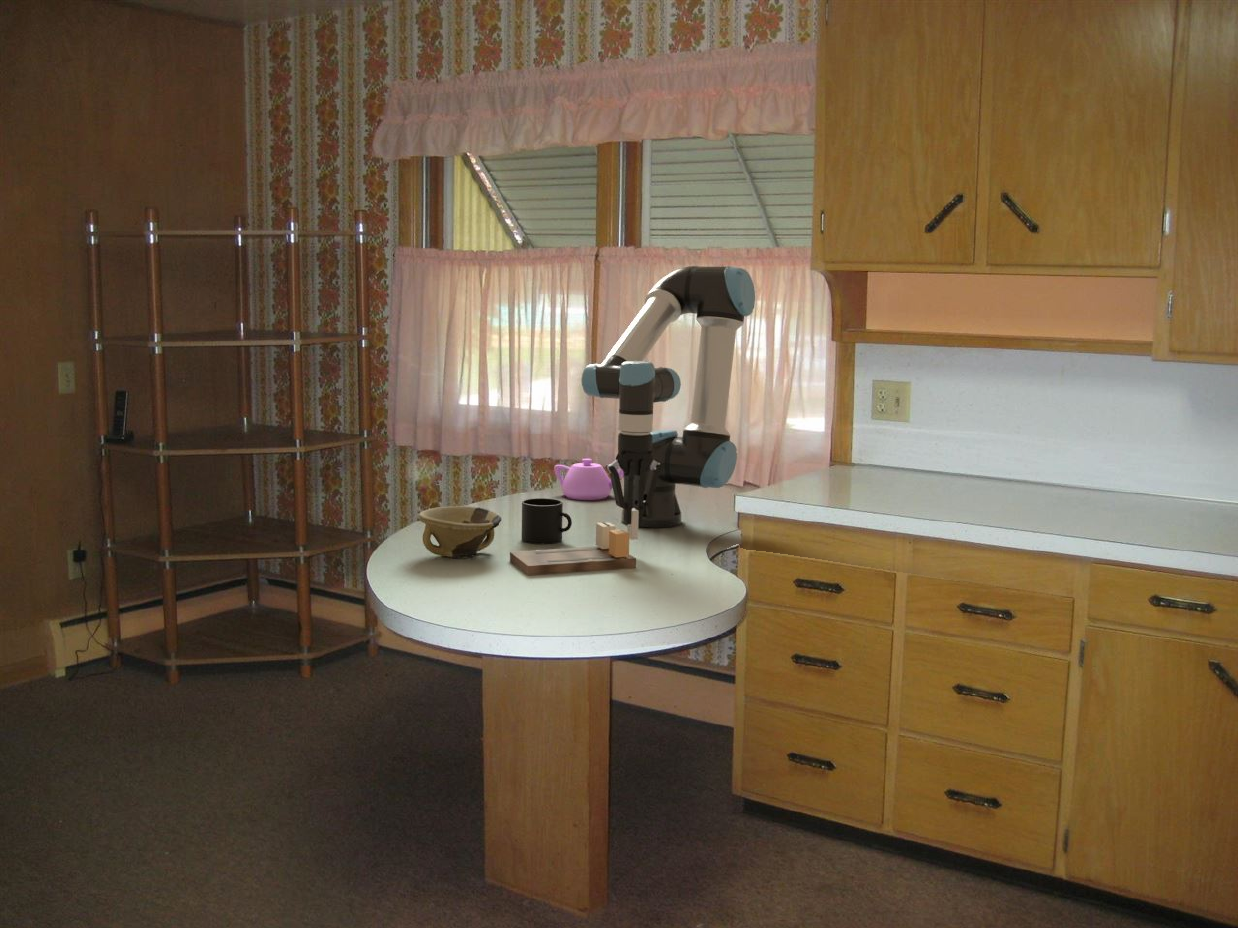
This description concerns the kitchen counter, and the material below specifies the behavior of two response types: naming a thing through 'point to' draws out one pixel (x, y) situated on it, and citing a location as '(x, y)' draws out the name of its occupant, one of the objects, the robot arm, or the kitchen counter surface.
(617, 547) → the orange fader knob
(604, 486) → the teapot
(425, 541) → the bowl
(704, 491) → the kitchen counter surface
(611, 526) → the cream fader knob
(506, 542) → the kitchen counter surface
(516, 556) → the console board
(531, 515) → the mug
